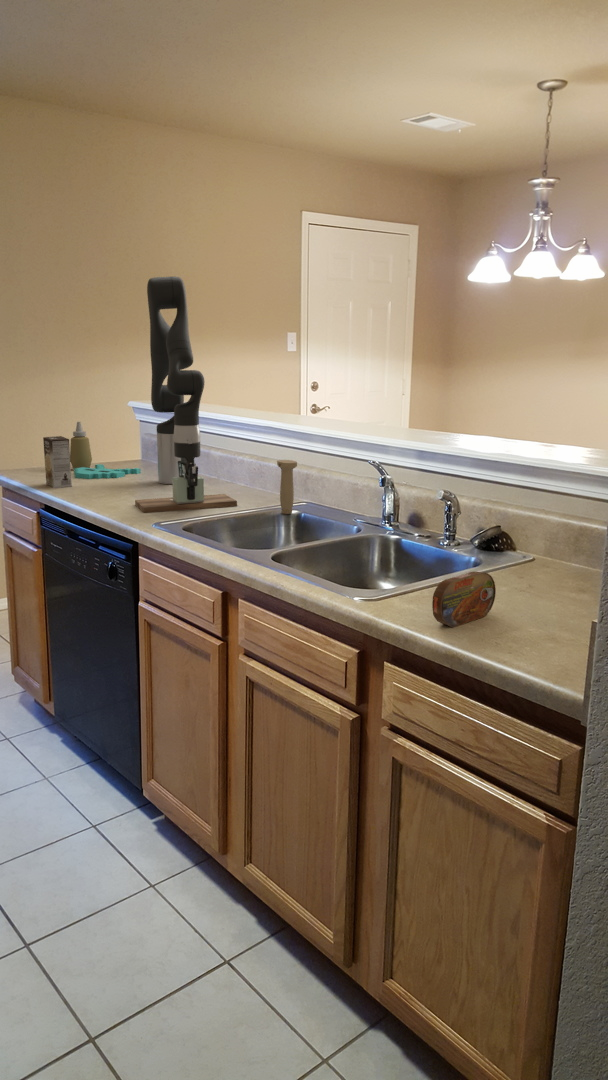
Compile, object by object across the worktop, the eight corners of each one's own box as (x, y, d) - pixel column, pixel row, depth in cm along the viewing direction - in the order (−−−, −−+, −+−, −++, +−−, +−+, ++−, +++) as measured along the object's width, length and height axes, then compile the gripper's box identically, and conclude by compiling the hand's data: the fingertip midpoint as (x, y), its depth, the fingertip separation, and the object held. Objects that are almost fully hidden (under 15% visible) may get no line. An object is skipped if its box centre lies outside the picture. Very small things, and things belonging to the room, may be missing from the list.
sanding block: (173, 500, 238) (172, 477, 237) (199, 499, 241) (198, 475, 240) (177, 503, 234) (176, 480, 232) (203, 502, 237) (203, 478, 235)
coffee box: (45, 484, 273) (42, 436, 270) (64, 482, 277) (61, 435, 273) (53, 488, 266) (50, 439, 262) (72, 486, 270) (70, 438, 266)
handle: (285, 516, 227) (285, 463, 224) (273, 512, 232) (273, 460, 229) (299, 514, 230) (300, 462, 226) (287, 510, 235) (288, 459, 231)
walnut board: (135, 504, 241) (134, 499, 240) (224, 498, 251) (224, 493, 251) (143, 512, 230) (143, 507, 230) (237, 505, 241) (236, 500, 240)
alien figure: (99, 469, 307) (61, 477, 290) (99, 464, 307) (60, 471, 290) (140, 474, 298) (104, 482, 281) (140, 468, 298) (103, 476, 281)
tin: (441, 631, 138) (444, 584, 136) (427, 626, 140) (429, 580, 138) (495, 614, 147) (498, 569, 145) (481, 609, 150) (484, 566, 148)
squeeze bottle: (66, 470, 301) (63, 422, 297) (76, 467, 309) (73, 420, 305) (87, 471, 300) (84, 423, 296) (95, 468, 308) (93, 421, 304)
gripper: (168, 438, 238) (170, 494, 242) (180, 443, 225) (182, 503, 230) (193, 437, 241) (194, 493, 245) (206, 442, 228) (207, 501, 232)
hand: (188, 497), depth 237 cm, fingers closed on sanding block, 5 cm apart
